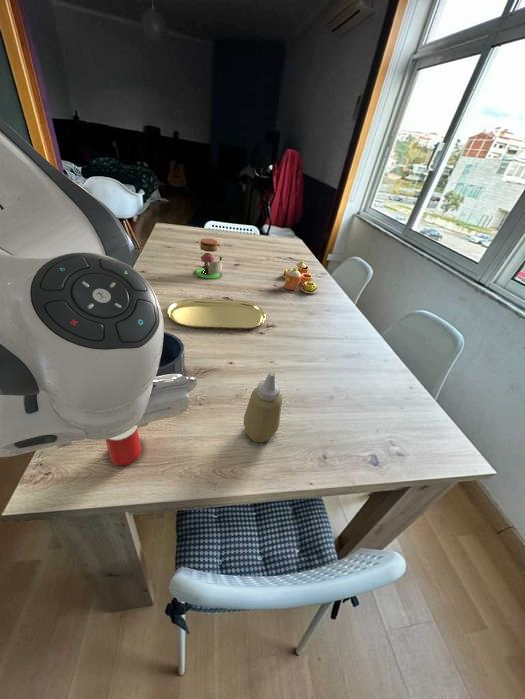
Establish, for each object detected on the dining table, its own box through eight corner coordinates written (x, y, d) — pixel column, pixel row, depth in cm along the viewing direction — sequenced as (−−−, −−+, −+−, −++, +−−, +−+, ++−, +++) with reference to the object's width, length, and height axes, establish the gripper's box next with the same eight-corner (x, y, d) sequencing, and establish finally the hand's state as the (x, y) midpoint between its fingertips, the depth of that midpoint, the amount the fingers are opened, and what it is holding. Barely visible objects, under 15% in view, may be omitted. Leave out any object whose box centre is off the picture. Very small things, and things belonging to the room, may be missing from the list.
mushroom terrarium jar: (190, 277, 129) (190, 242, 120) (199, 267, 139) (200, 235, 130) (217, 282, 129) (219, 248, 120) (223, 271, 139) (225, 239, 130)
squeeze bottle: (262, 413, 72) (275, 356, 61) (283, 437, 67) (300, 379, 57) (235, 426, 68) (243, 367, 57) (255, 453, 63) (267, 394, 52)
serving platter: (169, 301, 110) (169, 297, 109) (261, 305, 117) (261, 302, 116) (165, 328, 95) (164, 324, 94) (269, 331, 102) (270, 328, 102)
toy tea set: (317, 296, 132) (323, 276, 126) (284, 292, 130) (288, 271, 125) (308, 273, 153) (313, 255, 147) (279, 270, 151) (282, 251, 146)
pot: (126, 408, 67) (120, 379, 62) (110, 365, 78) (104, 337, 73) (194, 387, 76) (194, 360, 71) (172, 351, 86) (170, 325, 81)
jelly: (113, 470, 55) (105, 444, 51) (107, 447, 59) (99, 420, 54) (145, 458, 58) (140, 432, 54) (137, 436, 62) (132, 410, 57)
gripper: (193, 353, 37) (174, 394, 47) (-29, 383, 26) (11, 428, 37) (207, 399, 34) (184, 431, 45) (-29, 453, 24) (13, 479, 34)
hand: (105, 430), depth 41 cm, fingers open, 8 cm apart
